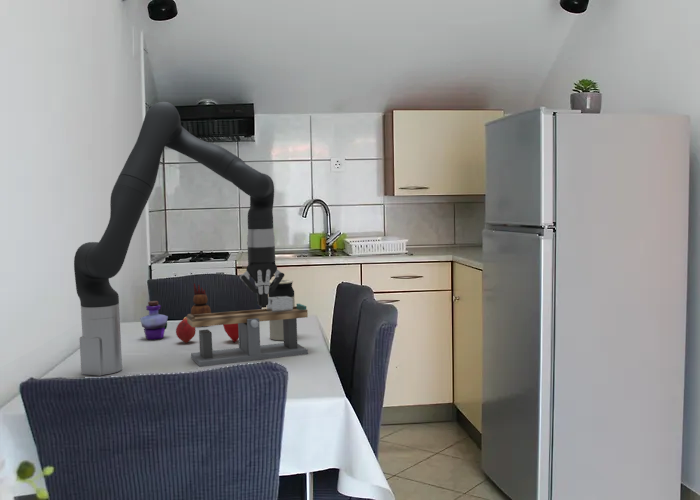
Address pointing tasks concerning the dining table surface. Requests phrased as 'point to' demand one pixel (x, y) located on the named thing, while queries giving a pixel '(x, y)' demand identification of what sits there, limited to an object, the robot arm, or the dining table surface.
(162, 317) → the potion bottle
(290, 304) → the block
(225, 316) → the beam
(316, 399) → the dining table surface
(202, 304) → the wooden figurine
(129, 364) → the dining table surface
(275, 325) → the travel mug
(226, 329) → the strawberry
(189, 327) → the pomegranate
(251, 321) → the pivot stand
